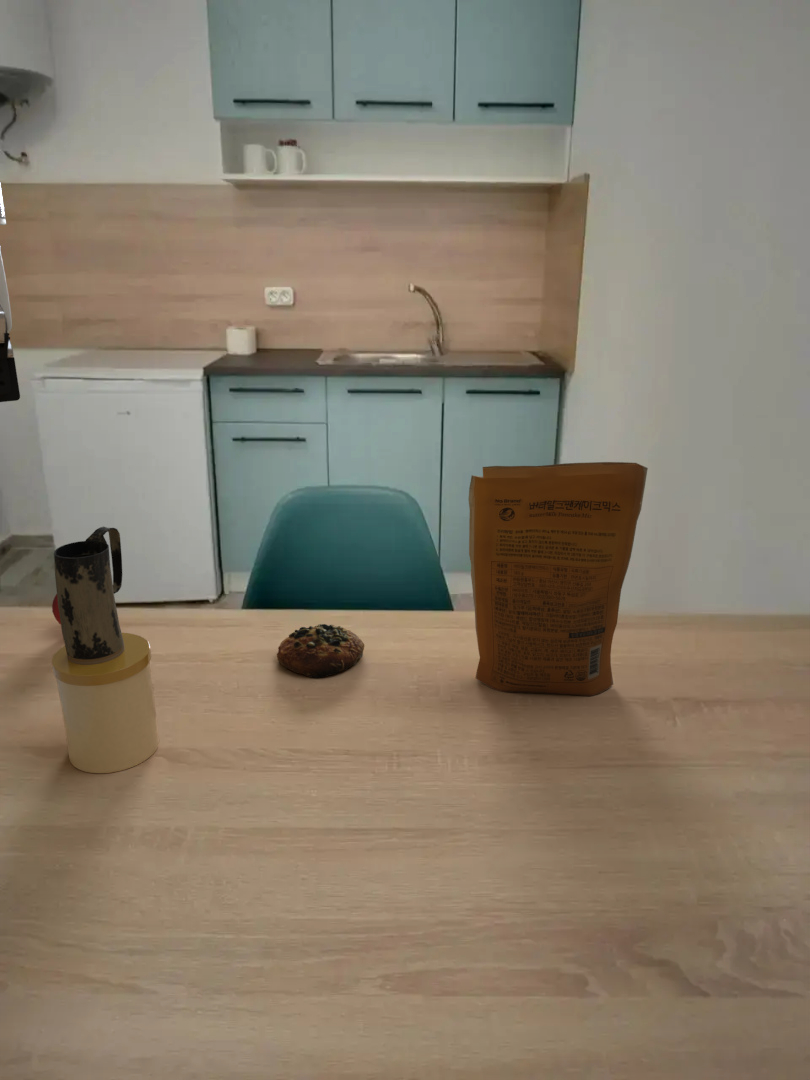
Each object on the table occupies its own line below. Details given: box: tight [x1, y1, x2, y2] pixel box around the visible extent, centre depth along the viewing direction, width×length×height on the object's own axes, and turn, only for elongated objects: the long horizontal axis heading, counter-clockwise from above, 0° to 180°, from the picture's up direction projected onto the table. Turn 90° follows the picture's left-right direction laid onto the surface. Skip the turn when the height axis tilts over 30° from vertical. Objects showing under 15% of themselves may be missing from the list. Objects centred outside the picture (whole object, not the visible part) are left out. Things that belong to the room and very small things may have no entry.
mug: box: [53, 526, 125, 665], centre depth 83 cm, size 8×6×12 cm
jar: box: [51, 632, 160, 774], centre depth 85 cm, size 9×9×11 cm
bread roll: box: [276, 623, 365, 679], centre depth 106 cm, size 11×11×5 cm
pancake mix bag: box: [468, 461, 649, 697], centre depth 94 cm, size 7×19×28 cm, turn 84°
